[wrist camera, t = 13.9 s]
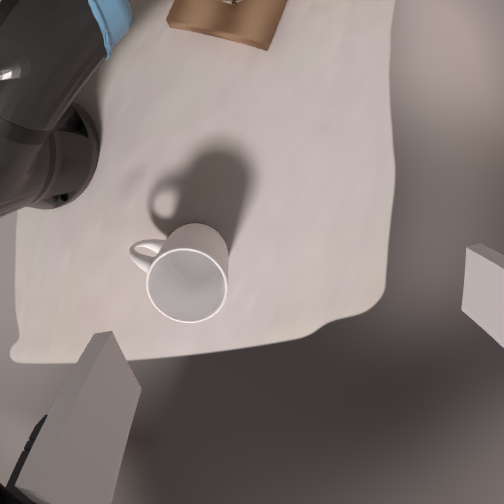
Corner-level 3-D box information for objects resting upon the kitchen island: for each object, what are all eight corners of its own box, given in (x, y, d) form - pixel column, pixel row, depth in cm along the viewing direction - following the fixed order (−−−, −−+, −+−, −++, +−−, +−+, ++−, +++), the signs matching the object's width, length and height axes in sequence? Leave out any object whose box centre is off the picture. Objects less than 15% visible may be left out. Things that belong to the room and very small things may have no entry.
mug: (151, 203, 40) (127, 223, 30) (238, 234, 42) (240, 264, 32) (134, 261, 42) (109, 296, 32) (215, 290, 45) (212, 333, 34)
